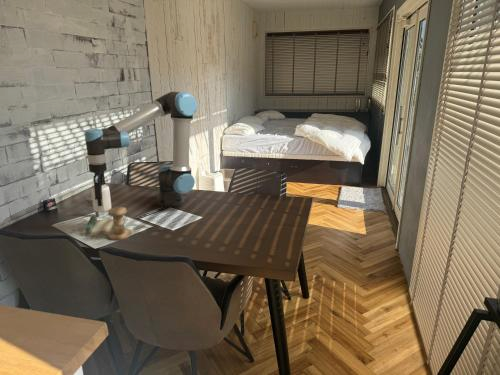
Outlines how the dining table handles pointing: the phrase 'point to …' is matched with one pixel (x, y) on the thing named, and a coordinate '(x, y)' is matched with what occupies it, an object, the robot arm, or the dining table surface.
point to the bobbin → (118, 224)
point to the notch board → (99, 226)
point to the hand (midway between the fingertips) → (102, 208)
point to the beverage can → (104, 195)
